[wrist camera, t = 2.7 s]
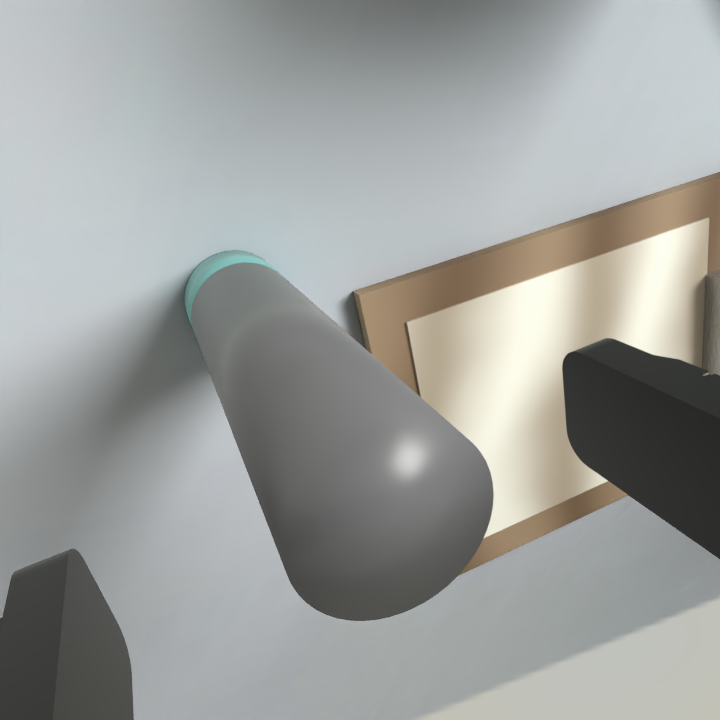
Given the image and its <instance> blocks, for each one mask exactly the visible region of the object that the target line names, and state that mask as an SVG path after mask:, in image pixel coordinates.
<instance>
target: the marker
mask: <svg viewBox="0 0 720 720" xmlns="http://www.w3.org/2000/svg"><path fill="white" fill-rule="evenodd" d="M184 302H185V309H186V313H187V316H188V318H189V321H190V323H191V326H192V329H193V331H194V334H195V336H196V339H197V342H198V344H199V347H200V349H201V352H202V355H203V357H204V360H205V362H206V365H207V368H208V370H209V373H210V375H211V378H212V381H213V383H214V386H215V388H216V391H217V394H218V396H219V399H220V401H221V404H222V407H223V409H224V412H225V414H226V417H227V420H228V422H229V425H230V427H231V430H232V433H233V435H234V438H235V440H236V443H237V446H238V448H239V451H240V453H241V456H242V459H243V461H244V464H245V466H246V469H247V472H248V474H249V477H250V479H251V482H252V485H253V487H254V490H255V492H256V495H257V498H258V500H259V503H260V505H261V508H262V511H263V513H264V516H265V518H266V521H267V524H268V526H269V529H270V531H271V534H272V537H273V539H274V542H275V544H276V547H277V549H278V552H279V555H280V557H281V560H282V562H283V565H284V568H285V570H286V573H287V575H288V577H289V580H290V582H291V584H292V586H293V587H294V589H295V590H296V592H297V593H298V595H299V596H300V597H301V598H302V599H303V600H304V601H305V602H306V603H308V604H309V605H310V606H312V607H313V608H315V609H316V610H318V611H320V612H322V613H324V614H326V615H329V616H332V617H335V618H339V619H345V620H354V621H366V620H377V619H382V618H387V617H391V616H394V615H397V614H400V613H403V612H405V611H408V610H410V609H412V608H414V607H416V606H418V605H420V604H422V603H424V602H426V601H427V600H429V599H430V598H432V597H433V596H435V595H436V594H438V593H439V592H440V591H441V590H443V589H444V588H445V587H446V586H448V585H449V584H450V583H451V582H452V581H453V580H454V579H455V578H456V577H457V576H458V575H459V574H460V573H461V572H462V570H463V569H464V568H465V567H466V566H467V564H468V563H469V562H470V560H471V559H472V557H473V556H474V555H475V553H476V551H477V550H478V548H479V546H480V544H481V542H482V540H483V538H484V536H485V534H486V531H487V528H488V525H489V522H490V519H491V514H492V509H493V497H494V493H493V482H492V477H491V473H490V470H489V467H488V465H487V462H486V460H485V459H484V457H483V455H482V454H481V452H480V451H479V450H478V448H477V447H476V446H475V445H474V444H473V443H472V442H471V441H470V440H469V439H468V438H466V437H465V436H464V435H463V434H462V433H461V432H460V431H458V430H457V429H456V428H455V427H454V426H453V425H452V424H451V423H449V422H448V421H447V420H446V419H445V418H444V417H443V416H441V415H440V414H439V413H438V412H437V411H436V410H435V409H433V408H432V407H431V406H430V405H429V404H428V403H427V402H425V401H424V400H423V399H422V398H421V397H420V396H419V395H417V394H416V393H415V392H414V391H413V390H412V389H411V388H409V387H408V386H407V385H406V384H405V383H404V382H403V381H401V380H400V379H399V378H398V377H397V376H396V375H395V374H394V373H392V372H391V371H390V370H389V369H388V368H387V367H386V366H384V365H383V364H382V363H381V362H380V361H379V360H378V359H376V358H375V357H374V356H373V355H372V354H371V353H370V352H368V351H367V350H366V349H365V348H364V347H363V346H362V345H360V344H359V343H358V342H357V341H356V340H355V339H354V338H352V337H351V336H350V335H349V334H348V333H347V332H346V331H344V330H343V329H342V328H341V327H340V326H339V325H338V324H336V323H335V322H334V321H333V320H332V319H331V318H330V317H329V316H327V315H326V314H325V313H324V312H323V311H322V310H321V309H319V308H318V307H317V306H316V305H315V304H314V303H313V302H311V301H310V300H309V299H308V298H307V297H306V296H305V295H303V294H302V293H301V292H300V291H299V290H298V289H297V288H295V287H294V286H293V285H292V284H291V283H290V282H289V281H287V280H286V279H285V278H284V277H283V276H282V275H281V274H279V273H278V272H277V271H276V270H275V269H274V268H273V267H272V266H270V265H269V264H268V263H267V262H266V261H265V260H263V259H262V258H260V257H258V256H256V255H254V254H252V253H249V252H245V251H236V250H232V251H224V252H220V253H217V254H215V255H212V256H211V257H209V258H207V259H206V260H204V261H203V262H202V263H201V264H199V265H198V266H197V268H196V269H195V270H194V271H193V273H192V274H191V276H190V278H189V280H188V282H187V285H186V289H185V295H184Z"/></svg>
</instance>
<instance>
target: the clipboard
mask: <svg viewBox="0 0 720 720" xmlns="http://www.w3.org/2000/svg"><path fill="white" fill-rule="evenodd" d="M353 293H354V298H355V302H356V307H357V311H358V316H359V320H360V325H361V329H362V334H363V338H364V343H365V347H366V350H367V351H368V352H370V353H371V354H372V355H373V356H374V357H375V358H376V359H378V360H379V361H380V362H381V363H382V364H383V365H384V366H386V367H387V368H388V369H389V370H390V371H391V372H392V373H394V374H395V375H396V376H397V377H398V378H399V379H400V380H401V381H403V382H404V383H405V384H406V385H407V386H408V387H409V388H411V389H412V390H413V391H414V392H415V393H416V394H417V395H419V396H420V397H421V398H422V399H423V400H424V401H425V402H427V403H428V404H429V405H430V406H431V407H432V408H433V409H435V410H436V411H437V412H438V413H439V414H440V415H441V416H443V417H444V418H445V419H446V420H447V421H448V422H449V423H451V424H452V425H453V426H454V427H455V428H456V429H457V430H458V431H460V432H461V433H462V434H463V435H464V436H465V437H466V438H468V439H469V440H470V441H471V442H472V443H473V444H474V445H475V446H476V447H477V448H478V450H479V451H480V452H481V454H482V455H483V457H484V459H485V460H486V462H487V465H488V467H489V470H490V473H491V477H492V482H493V493H494V497H493V509H492V514H491V519H490V522H489V525H488V528H487V531H486V534H485V536H484V538H483V540H482V542H481V544H480V546H479V548H478V550H477V551H476V553H475V555H474V556H473V557H472V559H471V560H470V562H469V563H468V564H467V566H466V567H465V568H464V569H463V570H462V572H461V573H460V574H459V575H461V574H463V573H465V572H467V571H469V570H471V569H473V568H475V567H478V566H480V565H482V564H484V563H486V562H488V561H490V560H492V559H494V558H497V557H499V556H501V555H503V554H505V553H507V552H509V551H511V550H513V549H516V548H518V547H520V546H522V545H524V544H526V543H528V542H530V541H533V540H535V539H537V538H539V537H541V536H543V535H545V534H547V533H549V532H552V531H554V530H556V529H558V528H560V527H562V526H564V525H566V524H568V523H571V522H573V521H575V520H577V519H579V518H581V517H583V516H585V515H587V514H590V513H592V512H594V511H596V510H598V509H600V508H602V507H604V506H607V505H609V504H611V503H613V502H615V501H617V500H619V499H621V498H623V497H626V496H628V494H626V493H625V492H623V491H622V490H620V489H619V488H618V487H616V486H615V485H613V484H612V483H610V482H609V481H608V480H606V479H605V478H603V477H602V476H600V475H599V474H598V473H596V472H595V471H593V470H592V469H590V468H589V467H588V466H586V465H585V464H584V463H583V462H582V461H581V460H580V459H579V458H578V456H577V455H576V454H575V452H574V450H573V449H572V447H571V444H570V442H569V439H568V435H567V428H566V414H565V400H564V387H563V373H562V364H563V360H564V358H565V356H566V355H567V354H568V353H570V352H572V351H575V350H577V349H580V348H582V347H585V346H587V345H590V344H592V343H595V342H597V341H600V340H602V339H605V338H612V339H615V340H618V341H620V342H623V343H625V344H628V345H630V346H633V347H635V348H637V349H640V350H642V351H645V352H647V353H650V354H652V355H657V356H662V357H668V358H674V359H680V360H682V361H685V362H687V363H690V364H692V365H695V366H697V367H700V368H702V369H705V370H707V371H709V373H710V375H712V374H717V375H720V172H719V173H716V174H713V175H710V176H706V177H703V178H700V179H697V180H694V181H691V182H688V183H685V184H682V185H679V186H676V187H673V188H670V189H666V190H663V191H660V192H657V193H654V194H651V195H648V196H645V197H642V198H639V199H636V200H633V201H630V202H626V203H623V204H620V205H617V206H614V207H611V208H608V209H605V210H602V211H599V212H596V213H593V214H590V215H587V216H583V217H580V218H577V219H574V220H571V221H568V222H565V223H562V224H559V225H556V226H553V227H550V228H547V229H543V230H540V231H537V232H534V233H531V234H528V235H525V236H522V237H519V238H516V239H513V240H510V241H507V242H503V243H500V244H497V245H494V246H491V247H488V248H485V249H482V250H479V251H476V252H473V253H470V254H467V255H464V256H460V257H457V258H454V259H451V260H448V261H445V262H442V263H439V264H436V265H433V266H430V267H427V268H424V269H420V270H417V271H414V272H411V273H408V274H405V275H402V276H399V277H396V278H393V279H390V280H387V281H384V282H381V283H377V284H374V285H371V286H368V287H365V288H362V289H359V290H356V291H353ZM459 575H458V576H459Z"/></svg>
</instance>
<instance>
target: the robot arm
mask: <svg viewBox="0 0 720 720" xmlns="http://www.w3.org/2000/svg"><path fill="white" fill-rule="evenodd" d="M562 373H563V387H564V400H565V414H566V428H567V435H568V439H569V442H570V444H571V447H572V449H573V450H574V452H575V454H576V455H577V456H578V458H579V459H580V460H581V461H582V462H583V463H584V464H585V465H586V466H588V467H589V468H590V469H592V470H593V471H595V472H596V473H598V474H599V475H600V476H602V477H603V478H605V479H606V480H608V481H609V482H610V483H612V484H613V485H615V486H616V487H618V488H619V489H620V490H622V491H623V492H625V493H626V494H628V495H629V496H630V497H632V498H633V499H635V500H636V501H638V502H639V503H641V504H642V505H643V506H645V507H646V508H648V509H649V510H651V511H652V512H653V513H655V514H656V515H658V516H659V517H661V518H662V519H663V520H665V521H666V522H668V523H669V524H671V525H672V526H673V527H675V528H676V529H678V530H679V531H681V532H682V533H683V534H685V535H686V536H688V537H689V538H691V539H692V540H693V541H695V542H696V543H698V544H699V545H701V546H702V547H703V548H705V549H706V550H708V551H709V552H711V553H712V554H713V555H715V556H716V557H718V558H719V559H720V375H717V374H712V375H710V373H709V371H707V370H705V369H702V368H700V367H697V366H695V365H692V364H690V363H687V362H685V361H682V360H680V359H674V358H668V357H662V356H657V355H652V354H650V353H647V352H645V351H642V350H640V349H637V348H635V347H633V346H630V345H628V344H625V343H623V342H620V341H618V340H615V339H612V338H605V339H602V340H600V341H597V342H595V343H592V344H590V345H587V346H585V347H582V348H580V349H577V350H575V351H572V352H570V353H568V354H567V355H566V356H565V358H564V360H563V364H562ZM0 720H134V719H133V695H132V673H131V664H130V658H129V654H128V650H127V646H126V643H125V640H124V637H123V634H122V632H121V629H120V627H119V625H118V623H117V621H116V619H115V617H114V616H113V614H112V612H111V610H110V608H109V606H108V604H107V602H106V600H105V599H104V597H103V595H102V593H101V591H100V589H99V587H98V585H97V583H96V582H95V580H94V578H93V576H92V574H91V572H90V570H89V568H88V566H87V565H86V563H85V561H84V559H83V557H82V556H81V555H80V553H79V552H78V551H77V550H75V549H70V550H68V551H65V552H63V553H60V554H58V555H55V556H53V557H50V558H48V559H45V560H42V561H40V562H37V563H35V564H32V565H30V566H27V567H25V568H22V569H20V570H17V571H15V572H14V573H13V575H12V578H11V581H10V586H9V590H8V595H7V600H6V604H5V609H4V613H3V618H1V619H0Z"/></svg>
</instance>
